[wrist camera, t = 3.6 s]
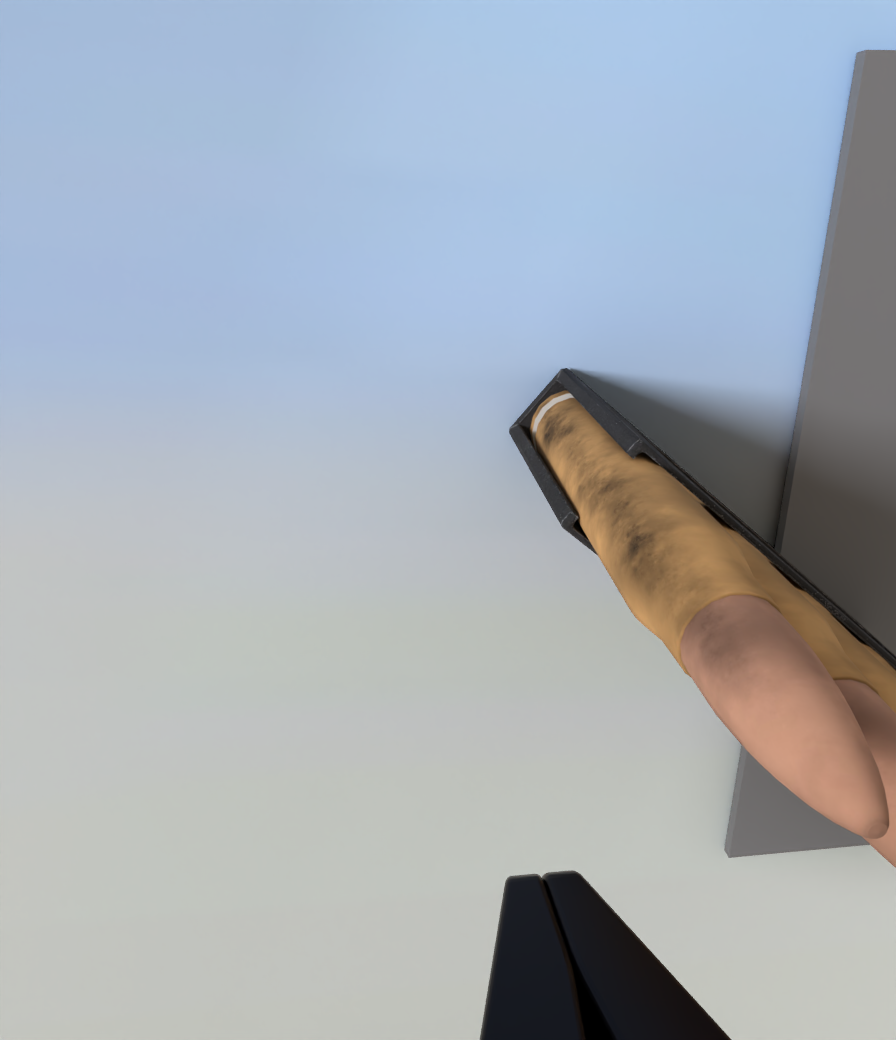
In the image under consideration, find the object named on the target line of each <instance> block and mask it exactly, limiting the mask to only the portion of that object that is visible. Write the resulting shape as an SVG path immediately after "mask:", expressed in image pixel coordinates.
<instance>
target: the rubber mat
mask: <svg viewBox="0 0 896 1040" xmlns="http://www.w3.org/2000/svg"><path fill="white" fill-rule="evenodd" d="M774 549H775V550H776V551H777V552H778V553H779V554H781V555H782V556H783V557H784V558H785V559H786V560H788V561H789V562H790V563H791V564H792V565H793V566H794V567H796V568H797V569H798V570H799V571H800V572H801V573H802V574H804V575H805V576H806V577H807V578H808V579H809V580H810V581H812V582H813V583H814V584H815V585H816V586H817V587H818V588H820V589H821V590H822V591H823V592H824V593H825V594H826V595H828V596H829V597H830V598H831V599H832V600H833V601H835V602H836V603H837V604H838V605H839V606H840V607H841V608H843V609H844V610H845V611H846V612H847V613H848V614H849V615H851V616H852V617H853V618H854V619H855V620H856V621H857V622H859V623H860V624H861V625H862V626H863V627H864V628H865V629H867V630H868V631H869V632H870V633H871V634H872V635H873V636H874V637H875V638H876V639H878V640H879V641H880V642H881V643H882V644H883V645H884V646H885V647H886V648H887V649H889V650H890V651H891V652H892V653H893V654H894V655H895V656H896V50H864V51H861V52H858V53H857V54H856V60H855V66H854V72H853V78H852V84H851V90H850V96H849V102H848V108H847V114H846V120H845V126H844V132H843V138H842V144H841V150H840V156H839V163H838V169H837V175H836V181H835V187H834V193H833V199H832V205H831V211H830V217H829V223H828V229H827V235H826V241H825V247H824V253H823V259H822V265H821V271H820V277H819V283H818V289H817V295H816V301H815V307H814V313H813V319H812V325H811V331H810V337H809V343H808V349H807V355H806V361H805V367H804V373H803V379H802V385H801V391H800V397H799V403H798V409H797V415H796V421H795V427H794V433H793V439H792V445H791V452H790V458H789V464H788V470H787V476H786V482H785V488H784V494H783V500H782V506H781V512H780V518H779V524H778V530H777V536H776V542H775V548H774ZM859 845H870V844H869V843H868V842H867V841H866V840H865V839H864V838H863V837H862V836H860V835H857V834H855V833H853V832H851V831H849V830H847V829H845V828H843V827H841V826H840V825H838V824H836V823H834V822H832V821H831V820H829V819H828V818H826V817H825V816H823V815H822V814H820V813H819V812H817V811H816V810H814V809H813V808H812V807H810V806H809V805H807V804H806V803H805V802H804V801H802V800H801V799H800V798H799V797H798V796H796V795H795V794H794V793H793V792H792V791H790V790H789V789H788V788H787V787H785V786H784V785H783V784H782V783H781V782H779V781H778V780H777V779H776V778H775V777H774V776H773V775H772V774H770V773H769V772H768V771H767V770H766V769H765V768H764V767H763V766H762V765H761V764H760V763H759V762H758V761H757V760H756V759H755V758H754V757H753V756H752V755H751V754H750V753H749V752H748V751H747V750H746V749H745V748H744V747H743V745H742V747H741V753H740V759H739V765H738V771H737V777H736V783H735V789H734V795H733V801H732V807H731V813H730V819H729V825H728V831H727V837H726V843H725V849H724V850H725V852H726V853H727V855H728V857H729V858H731V857H741V856H752V855H763V854H773V853H784V852H795V851H805V850H816V849H827V848H838V847H848V846H859Z"/></svg>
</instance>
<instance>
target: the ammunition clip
mask: <svg viewBox="0 0 896 1040" xmlns="http://www.w3.org/2000/svg"><path fill="white" fill-rule="evenodd" d="M509 433H510V435H511V437H512V439H513V440H514V442H515V444H516V446H517V448H518V449H519V451H520V453H521V455H522V456H523V458H524V460H525V462H526V464H527V465H528V467H529V469H530V471H531V472H532V474H533V476H534V478H535V479H536V481H537V483H538V485H539V487H540V488H541V490H542V492H543V494H544V495H545V497H546V499H547V501H548V503H549V504H550V506H551V508H552V510H553V511H554V513H555V515H556V517H557V519H558V520H559V522H560V524H561V526H562V527H563V528H564V529H565V530H566V531H568V532H569V533H570V534H571V535H573V536H574V537H575V538H576V539H578V540H579V541H580V542H581V543H583V544H584V545H585V546H587V547H588V548H589V549H590V550H592V551H593V552H594V553H595V554H597V555H598V556H599V558H600V560H601V561H602V563H603V565H604V566H605V568H606V570H607V571H608V573H609V575H610V576H611V578H612V580H613V582H614V583H615V585H616V587H617V588H618V590H619V592H620V593H621V595H622V597H623V598H624V600H625V602H626V604H627V605H628V607H629V609H630V610H631V612H632V613H633V614H634V616H635V617H636V618H637V619H638V620H639V621H640V622H641V623H642V624H643V625H644V626H645V627H647V628H648V629H649V630H650V631H651V632H652V633H654V634H655V635H656V636H657V637H658V638H660V639H661V640H662V641H663V642H664V644H665V645H666V647H667V648H668V649H669V651H670V652H671V654H672V655H673V656H674V658H675V659H676V661H677V662H678V663H679V665H680V666H681V668H682V669H683V670H684V672H685V673H686V674H687V675H689V676H690V677H691V678H692V679H693V680H694V682H695V683H696V685H697V687H698V688H699V690H700V691H701V693H702V694H703V696H704V697H705V699H706V700H707V702H708V703H709V705H710V706H711V708H712V709H713V711H714V712H715V713H716V715H717V716H718V717H719V718H720V720H721V721H722V722H723V723H724V724H725V726H726V727H727V728H728V729H729V730H730V732H731V733H732V734H733V735H734V736H735V737H736V738H737V740H738V741H739V742H740V743H741V744H742V745H743V747H744V748H745V749H746V750H747V751H748V752H749V753H750V754H751V755H752V756H753V757H754V758H755V759H756V760H757V761H758V762H759V763H760V764H761V765H762V766H763V767H764V768H765V769H766V770H767V771H768V772H769V773H770V774H772V775H773V776H774V777H775V778H776V779H777V780H778V781H779V782H781V783H782V784H783V785H784V786H785V787H787V788H788V789H789V790H790V791H792V792H793V793H794V794H795V795H796V796H798V797H799V798H800V799H801V800H802V801H804V802H805V803H806V804H807V805H809V806H810V807H812V808H813V809H814V810H816V811H817V812H819V813H820V814H822V815H823V816H825V817H826V818H828V819H829V820H831V821H832V822H834V823H836V824H838V825H840V826H841V827H843V828H845V829H847V830H849V831H851V832H853V833H855V834H857V835H860V836H862V837H863V838H864V839H865V840H866V841H867V842H868V843H869V844H870V845H871V846H872V847H873V848H874V849H875V850H877V851H878V852H879V853H880V854H881V855H882V856H883V857H884V858H885V859H886V860H888V861H889V862H890V863H891V864H892V865H893V866H894V867H895V868H896V656H895V655H894V654H893V653H892V652H891V651H890V650H889V649H887V648H886V647H885V646H884V645H883V644H882V643H881V642H880V641H879V640H878V639H876V638H875V637H874V636H873V635H872V634H871V633H870V632H869V631H868V630H867V629H865V628H864V627H863V626H862V625H861V624H860V623H859V622H857V621H856V620H855V619H854V618H853V617H852V616H851V615H849V614H848V613H847V612H846V611H845V610H844V609H843V608H841V607H840V606H839V605H838V604H837V603H836V602H835V601H833V600H832V599H831V598H830V597H829V596H828V595H826V594H825V593H824V592H823V591H822V590H821V589H820V588H818V587H817V586H816V585H815V584H814V583H813V582H812V581H810V580H809V579H808V578H807V577H806V576H805V575H804V574H802V573H801V572H800V571H799V570H798V569H797V568H796V567H794V566H793V565H792V564H791V563H790V562H789V561H788V560H786V559H785V558H784V557H783V556H782V555H781V554H779V553H778V552H777V551H776V550H775V549H774V548H773V547H771V546H770V545H769V544H768V543H767V542H766V541H765V540H763V539H762V538H761V537H760V536H759V535H758V534H757V533H755V532H754V531H753V530H752V529H751V528H750V527H749V526H747V525H746V524H745V523H744V522H743V521H742V520H741V519H739V518H738V517H737V516H736V515H735V514H734V513H733V512H731V511H730V510H729V509H728V508H727V507H726V506H724V505H723V504H722V503H721V502H720V501H719V500H718V499H716V498H715V497H714V496H713V495H712V494H711V493H710V492H708V491H707V490H706V489H705V488H704V487H703V486H702V485H700V484H699V483H698V482H697V481H696V480H695V479H694V478H692V477H691V476H690V475H689V474H688V473H687V472H686V471H684V470H683V469H682V468H681V467H680V466H679V465H677V464H676V463H675V462H674V461H673V460H672V459H671V458H669V457H668V456H667V455H666V454H665V453H664V452H663V451H661V450H660V449H659V448H658V447H657V446H656V445H655V444H653V443H652V442H651V441H650V440H649V439H648V438H647V437H645V436H644V435H643V434H642V433H641V432H640V431H639V430H637V429H636V428H635V427H634V426H633V425H632V424H631V423H629V422H628V421H627V420H626V419H625V418H624V417H622V416H621V415H620V414H619V413H618V412H617V411H616V410H614V409H613V408H612V407H611V406H610V405H609V404H608V403H606V402H605V401H604V400H603V399H602V398H601V397H600V396H598V395H597V394H596V393H595V392H594V391H593V390H592V389H590V388H589V387H588V386H587V385H586V384H585V383H584V382H582V381H581V380H580V379H579V378H578V377H577V376H575V375H574V374H573V373H572V372H571V371H570V370H569V369H567V368H565V369H561V370H560V371H559V372H558V374H557V375H556V376H555V377H554V378H553V379H552V380H551V382H550V383H549V384H548V385H547V386H546V387H545V388H544V390H543V391H542V392H541V393H540V394H539V395H538V396H537V398H536V399H535V400H534V401H533V402H532V403H531V404H530V406H529V407H528V408H527V409H526V410H525V411H524V413H523V414H522V415H521V416H520V417H519V418H518V419H517V421H516V422H515V423H514V424H513V425H512V426H511V427H510V429H509Z"/></svg>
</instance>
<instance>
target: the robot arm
mask: <svg viewBox="0 0 896 1040" xmlns="http://www.w3.org/2000/svg"><path fill="white" fill-rule="evenodd" d="M480 1040H731V1039H730V1038H729V1037H728V1036H727V1034H726V1033H725V1032H724V1031H723V1030H722V1029H721V1028H720V1027H719V1026H718V1025H717V1023H716V1022H715V1021H714V1020H713V1019H712V1018H711V1017H710V1016H709V1015H708V1014H707V1012H706V1011H705V1010H704V1009H703V1008H702V1007H701V1006H700V1005H699V1004H698V1003H697V1002H696V1000H695V999H694V998H693V997H692V996H691V995H690V994H689V993H688V992H687V991H686V989H685V988H684V987H683V986H682V985H681V984H680V983H679V982H678V981H677V980H676V978H675V977H674V976H673V975H672V974H671V973H670V972H669V971H668V970H667V969H666V967H665V966H664V965H663V964H662V963H661V962H660V961H659V960H658V959H657V958H656V957H655V955H654V954H653V953H652V952H651V951H650V950H649V949H648V948H647V947H646V946H645V944H644V943H643V942H642V941H641V940H640V939H639V938H638V937H637V936H636V935H635V933H634V932H633V931H632V930H631V929H630V928H629V927H628V926H627V925H626V924H625V923H624V921H623V920H622V919H621V918H620V917H619V916H618V915H617V914H616V913H615V912H614V910H613V909H612V908H611V907H610V906H609V905H608V904H607V903H606V902H605V901H604V899H603V898H602V897H601V896H600V895H599V894H598V893H597V892H596V891H595V890H594V888H593V887H592V886H591V885H590V884H589V883H588V882H587V881H586V880H585V879H584V878H583V876H582V875H581V874H579V873H578V872H576V871H561V872H550V873H546V874H544V875H543V877H542V878H541V877H540V876H539V875H538V874H529V875H518V876H510V877H508V878H507V880H506V882H505V887H504V893H503V900H502V906H501V912H500V918H499V924H498V931H497V937H496V943H495V949H494V955H493V961H492V968H491V974H490V980H489V986H488V992H487V998H486V1005H485V1011H484V1017H483V1023H482V1029H481V1035H480Z"/></svg>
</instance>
